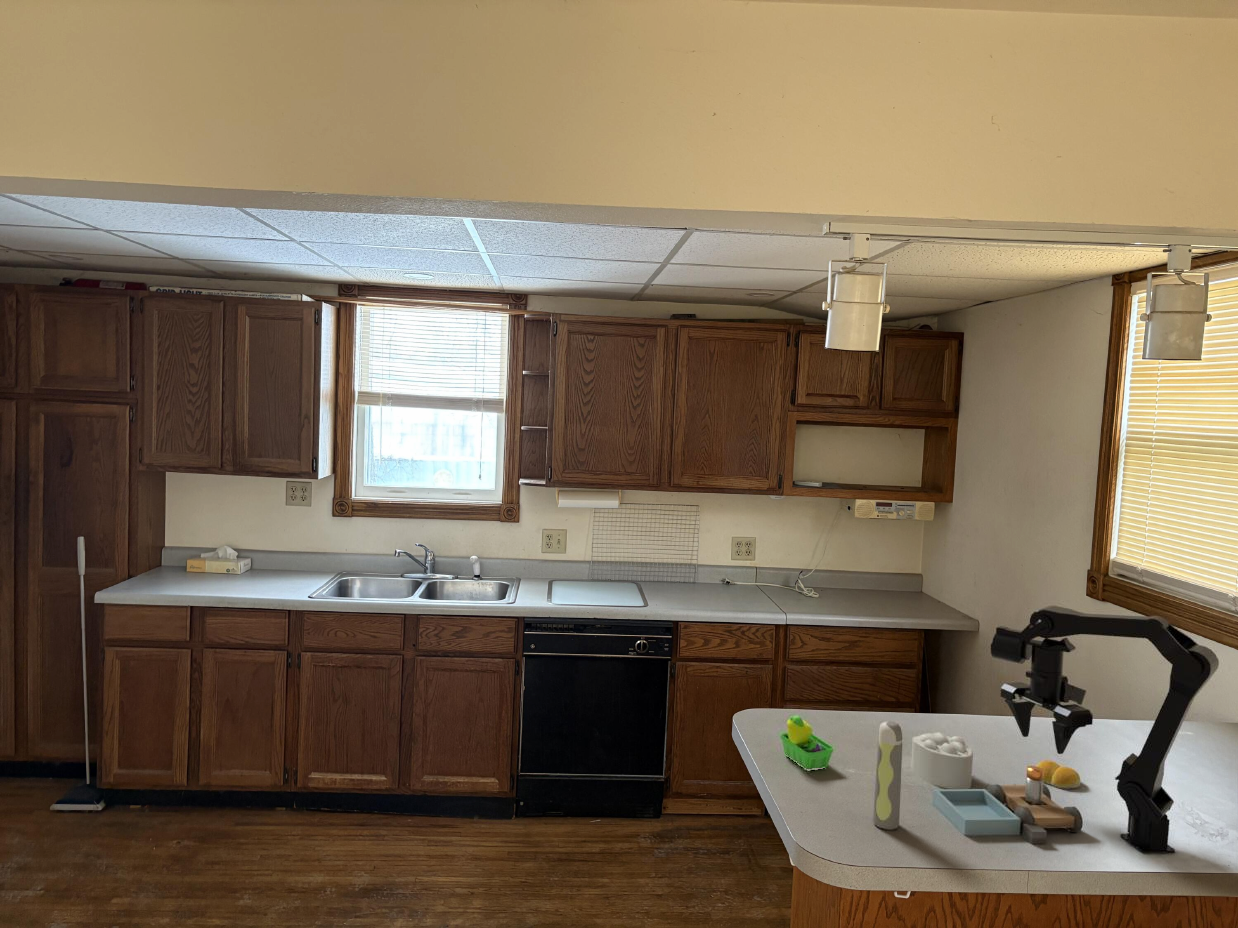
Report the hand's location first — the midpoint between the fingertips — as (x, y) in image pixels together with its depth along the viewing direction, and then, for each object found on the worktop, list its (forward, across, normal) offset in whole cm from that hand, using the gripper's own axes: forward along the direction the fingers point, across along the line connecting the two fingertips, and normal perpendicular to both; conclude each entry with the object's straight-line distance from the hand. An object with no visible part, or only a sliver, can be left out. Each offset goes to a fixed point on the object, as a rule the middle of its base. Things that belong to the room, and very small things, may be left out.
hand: (1042, 744), depth 172 cm
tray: (+13, -1, +16) cm, 21 cm away
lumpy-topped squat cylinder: (+13, +17, +10) cm, 24 cm away
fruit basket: (+13, +31, +36) cm, 50 cm away
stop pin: (+13, -3, +5) cm, 14 cm away
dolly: (+13, -4, +5) cm, 15 cm away
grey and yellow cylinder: (+13, +1, +35) cm, 38 cm away
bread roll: (+14, +10, -14) cm, 22 cm away
